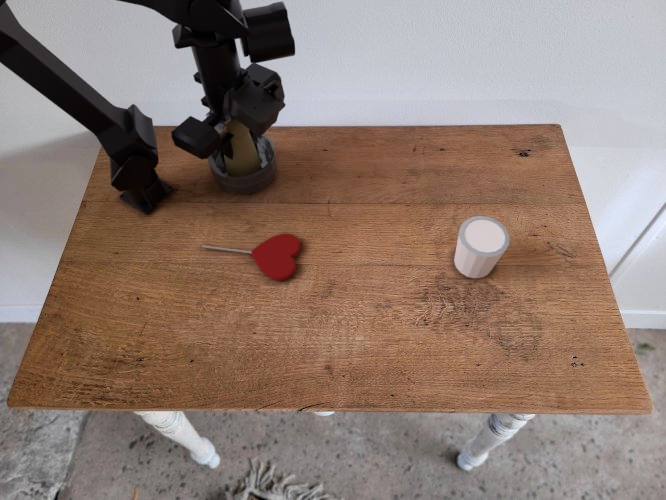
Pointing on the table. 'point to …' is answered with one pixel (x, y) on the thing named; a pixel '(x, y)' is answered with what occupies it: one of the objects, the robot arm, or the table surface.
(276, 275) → the lollipop
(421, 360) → the table surface
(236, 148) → the olive rounded peg
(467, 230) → the white cylinder
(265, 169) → the bowl
